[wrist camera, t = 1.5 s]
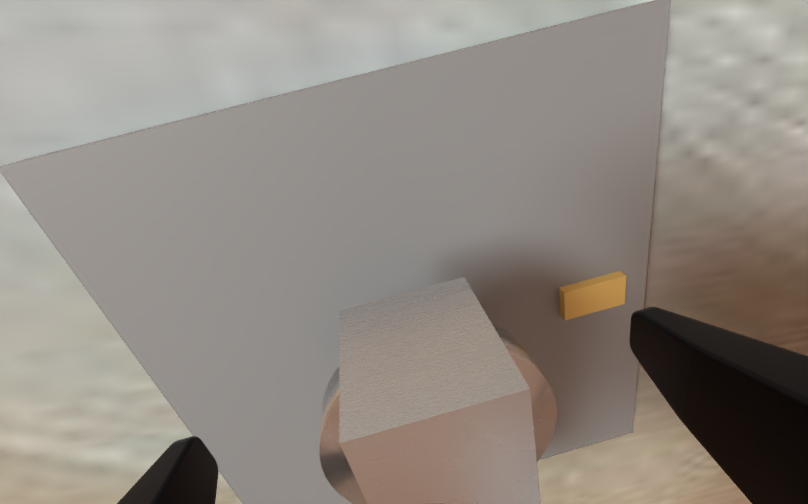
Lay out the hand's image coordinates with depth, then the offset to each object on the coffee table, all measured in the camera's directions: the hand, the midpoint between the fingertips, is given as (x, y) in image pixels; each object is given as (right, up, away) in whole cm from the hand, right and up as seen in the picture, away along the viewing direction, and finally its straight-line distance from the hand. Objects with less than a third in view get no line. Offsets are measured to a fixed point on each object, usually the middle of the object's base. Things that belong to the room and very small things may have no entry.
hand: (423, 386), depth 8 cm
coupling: (0, -2, +5) cm, 5 cm away
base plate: (0, 0, +9) cm, 9 cm away
